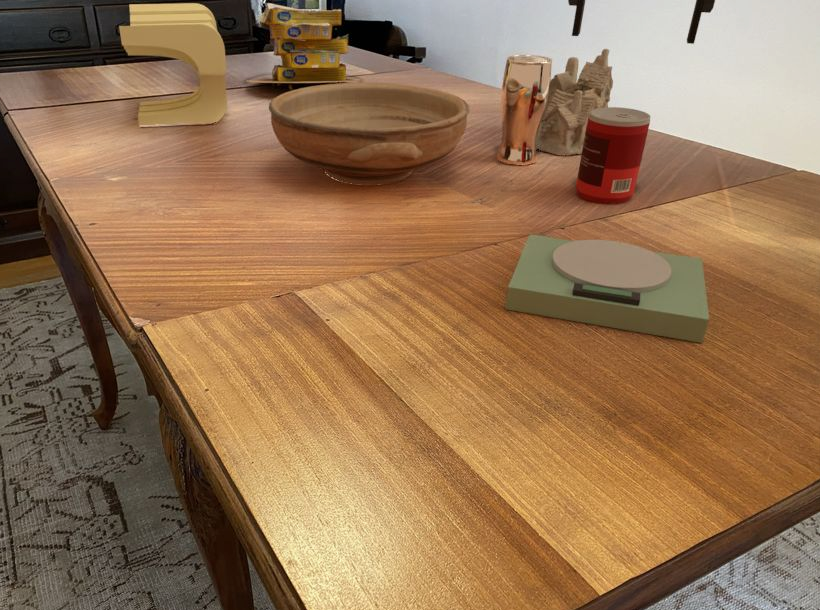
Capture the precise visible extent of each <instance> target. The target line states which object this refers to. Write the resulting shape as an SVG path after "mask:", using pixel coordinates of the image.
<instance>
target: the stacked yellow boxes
mask: <svg viewBox="0 0 820 610" xmlns="http://www.w3.org/2000/svg"><path fill="white" fill-rule="evenodd" d="M342 17H343V12H342V9H341V8H338V9H336V8H334V9H332V10H329V9H328V10H326V9H321V10H320V9H319V10H316V9H313V10H312V9H299V8H295V7H290V6H285V5H280V4H277V3H276V4H275V3H271V2H267V3H266V7H265V9H264V12H262V13H261V14H259V16H258V17H257V21H258V22H259V23H261V24H265V25H268V26H269V33H270V34H269V36H270V37H269V38H270V39H272V40H274V47H273V55H272V56H275V57H280V59H281V64H277V65H274V66H273V68H272V71H271V72H272V73H271V77H272V78H273V79H270V78H257V79H249V80H246V82H248V83H262V84H263V83H266V84H267V83H268V84H271V85H272V87H274V88H275V86H276V85H275V84H277V86H278V87H279V86H281V84H288V88H289V91H293V90H296V89H295V88H293V85H292V84H321V83H338V82H339V83H349V82H360V81H361V79H360V78H352V77H351V78H350V77H347V66H346V64H344V63H340V62H341V55H346V54H349V51H348V49H349V48H348V47H349V46H348V45H349V34H346V35H342V36H337V37H336V38H333V37H332V35H333V27H337V26H342V20H343V19H342ZM334 30H337V28H335V29H334Z"/></svg>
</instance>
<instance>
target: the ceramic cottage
mask: <svg viewBox="0 0 820 610" xmlns="http://www.w3.org/2000/svg"><path fill="white" fill-rule="evenodd" d="M609 54H610V49H609V48H603V49H602V51H601V54H599V55H596V57H595V58H594V61H593V62H590V61H586V62H585V64H584V65H583V68H582V69H581V72H580V73H579V61H580V60H579V58H578V57H575V56H571V57H569V58H568V59H567V62H566V65H565V68H564V69H565V70H564V72H561V73H556V74H555V75H553V78H551V81H550V89H549V95H548V100H547V104H546V108H545V111H544V114H543V117H542V120H541V123H540V126H539V130H538V134H537V139H536V150H537V149H539V150H538V151H540V150H541V152H542V151H543V152H546V153H548V154H552V155H554V154H560V155H559V156H561V155H562V156H565V155H566V156H572V155H576V154H577V155H581V154H580V153H582V149H583V143H584V137H585V132H586V126H587V121H588V116H589V113H590V111H592V110H594V109H597V108H605V107H609V102H610V101H611V91H612V89H613V87H614V86H613V85H614V80H613V77H612V76H613V75H612V71H613V66H609ZM578 73H579V75H578Z"/></svg>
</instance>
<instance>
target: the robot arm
mask: <svg viewBox="0 0 820 610" xmlns="http://www.w3.org/2000/svg"><path fill="white" fill-rule="evenodd" d="M567 3H568V6H570V7H571V6H574V7H576V8H575V12H574V13H575V14H574V19H573V25H572V31H571V37H579V36H580V34H581V30H582V23H583V17H584V12H585V7H586V6H585V5H586V0H567ZM715 3H716V0H696V1H695V4H694V9H693V12H692V17H691V21H690V24H689V29H688V33H687V37H686V44H690V45H691V44H692V45H695V41H696V36H697V33H698V29H699V25H700V21H701V17H702V13H707V14H710V13H711V12H712V11H713V9H714V6H715Z"/></svg>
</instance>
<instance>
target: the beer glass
mask: <svg viewBox="0 0 820 610" xmlns="http://www.w3.org/2000/svg"><path fill="white" fill-rule="evenodd" d="M552 64H553V59H552V58H550V57H548V56H543V55H535V54H515V55H514V54H513V55H509V56H507V57H506V63H505V68H504V72H503V78H502V85H501V97H500V99H501V101H500V103H501V104H500V105H501V106H500V107H501V126H502V127H501V128H502V129H501V130H502V133H501V141H500V145H499V148H498V151H497V154H496V160H497V161H498V160H499V161H498V162H500V161H501V162H500V163H502V162H504V163H503V164H505V163H509V164H517V165H516V166H519V165H522V164H523V165H522V166H525V165H524V164H530V165H532V164H531V163H533V164H535V163H536V162H537V149H536V139H537V134H538V130H539V126H540V123H541V120H542V117H543V114H544V111H545V108H546V104H547V100H548V95H549V89H550V81H551V79H552ZM535 161H536V162H535ZM534 162H535V163H534ZM509 164H508V165H509Z"/></svg>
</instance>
